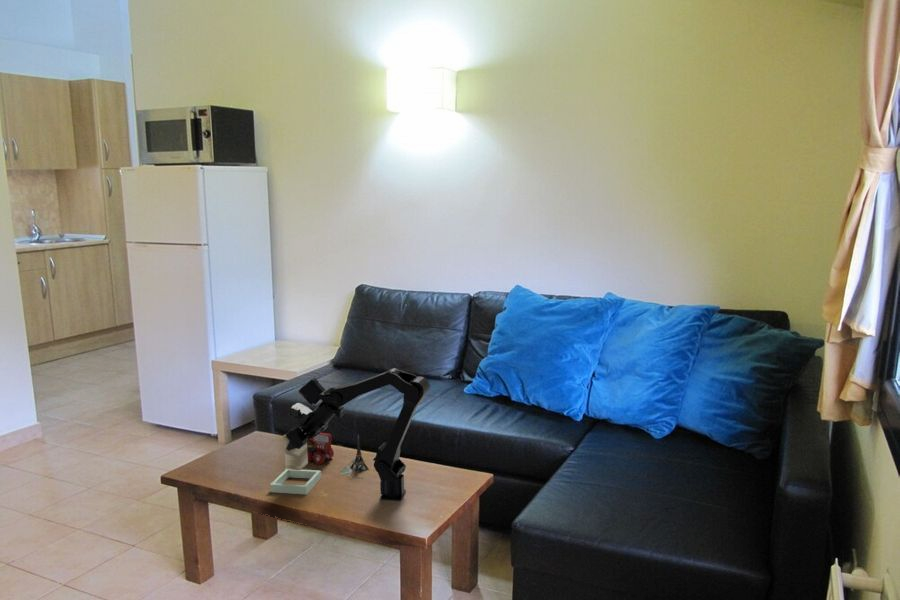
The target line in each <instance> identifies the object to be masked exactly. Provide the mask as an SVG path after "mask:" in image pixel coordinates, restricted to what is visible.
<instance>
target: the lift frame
mask: <svg viewBox="0 0 900 600" xmlns="http://www.w3.org/2000/svg"><path fill="white" fill-rule="evenodd" d="M288 478H295V479H308V481H306V483H305V484H290V483H289V484H288V483H285V481H286V480H288ZM321 478H322V471H321V470H318V469H317V470H314V469H313V470H312V469H301V470H291V469H286V468H285V470H284V471H282V472H281V474H279V476H277V477H276V478H275V479H274V480H272V482H271V483H270V484H269V487H270V488H269V489H270V491H269V492H270V493H279V494H293V495H294V494H295V495H308V494H309V493H310V492H311V490H312V489H313V488H314V487H315V486H316V485H317V483H319V481H320V480H321Z"/></svg>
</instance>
